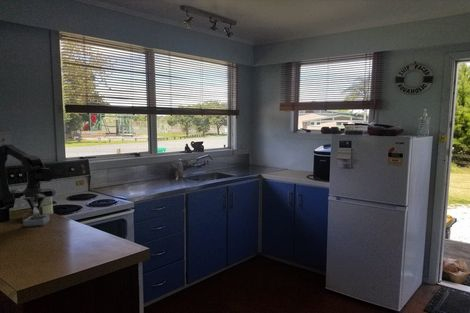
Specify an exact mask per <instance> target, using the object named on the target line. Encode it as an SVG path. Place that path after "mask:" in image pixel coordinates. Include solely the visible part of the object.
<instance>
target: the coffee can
mask: <svg viewBox="0 0 470 313" xmlns="http://www.w3.org/2000/svg"><path fill="white" fill-rule="evenodd" d="M41 190H42V191H41V192H45V191H46V190H53V189H51V188H41ZM38 197H39V195H37V196H35V197H33V201H34V205H38V199H37V198H38ZM39 212H40V216H43V215H49V216H50V215H52V214H54V205H53V196H51V197H45V198H44V199H43V201H42V204H41V207H40V210H39Z"/></svg>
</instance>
